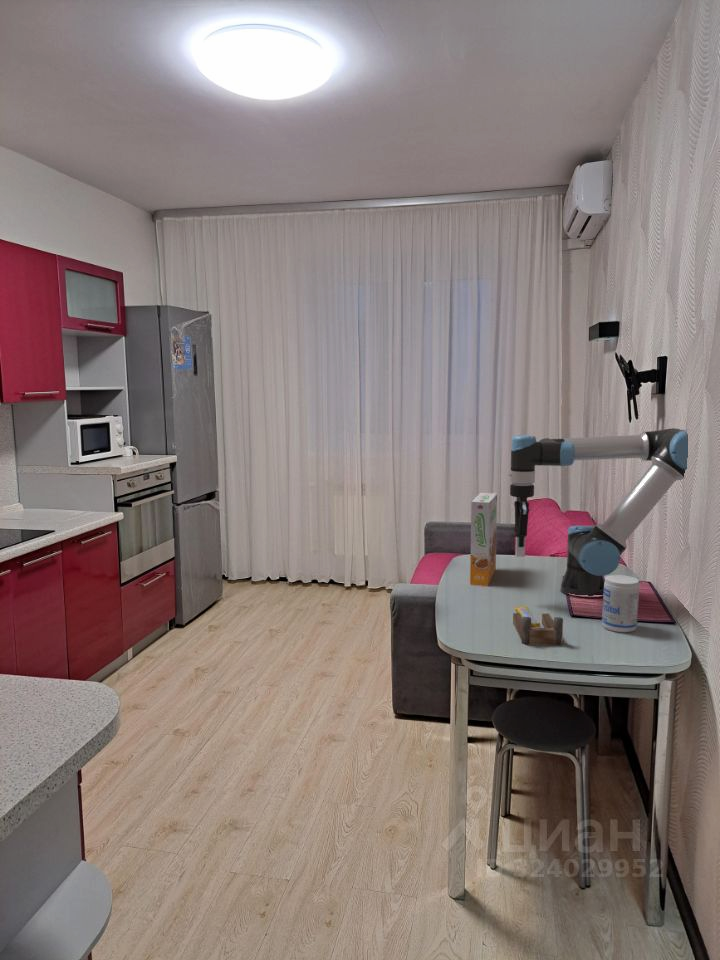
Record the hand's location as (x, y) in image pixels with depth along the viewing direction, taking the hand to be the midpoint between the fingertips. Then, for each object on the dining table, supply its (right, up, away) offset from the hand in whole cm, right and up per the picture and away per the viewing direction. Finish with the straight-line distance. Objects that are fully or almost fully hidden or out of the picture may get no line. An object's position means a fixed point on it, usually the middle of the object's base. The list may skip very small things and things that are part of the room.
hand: (520, 556), depth 225 cm
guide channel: (-1, -19, -26) cm, 32 cm away
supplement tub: (+24, -19, -22) cm, 38 cm away
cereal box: (-6, -12, +33) cm, 36 cm away
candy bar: (-1, -18, -13) cm, 23 cm away
